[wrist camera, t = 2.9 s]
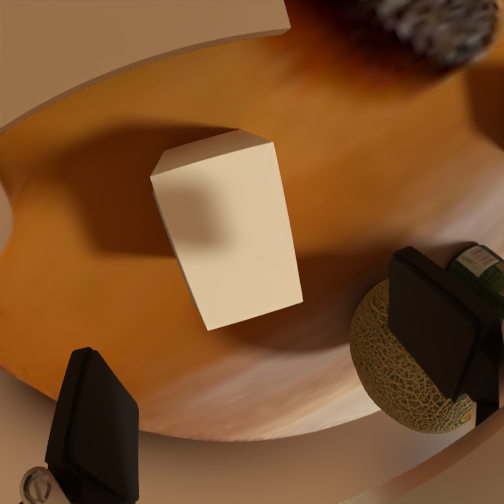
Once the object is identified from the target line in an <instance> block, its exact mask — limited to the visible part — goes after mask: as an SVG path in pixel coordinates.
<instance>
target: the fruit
mask: <svg viewBox="0 0 504 504" xmlns="http://www.w3.org/2000/svg"><path fill="white" fill-rule="evenodd" d="M388 303H389V278H388V279H385V280H383V281H381V282H380V283H378V284H377V285H375V286H374V287H373V288H372V289H371V290H370V291H369V292H368V293H367V294H366V295H365V297H364V298H363V299H362V300H361V302H360V304H359V305H358V307H357V308H356V310H355V313H354V315H353V318H352V321H351V325H350V330H349V344H350V352H351V356H352V360H353V363H354V366H355V368H356V371H357V374H358V376H359V379H360V381H361V383H362V385H363V387H364V389H365V390H366V392H367V393H368V395H369V396H370V398H371V399H372V400H373V401H374V403H375V404H376V405H377V406H378V407H380V408H381V409H382V410H383V411H384V412H385V413H386V414H387V415H389V416H390V417H392V418H393V419H395V420H396V421H397V422H398V423H400V424H402V425H404V426H406V427H408V428H410V429H412V430H415V431H418V432H422V433H428V434H441V433H446V432H450V431H453V430H455V429H457V428H459V427H461V426H462V425H463V424H465V423H466V422H468V421H469V420H470V419H471V405H472V400H471V399H470V397H469V396H468V395H467V396H466V397H465V398H463V399H462V400H460V401H459V402H457V403H456V404H454V403H453V401H452V400H451V399H447V398H445V397H444V396H443V395H442V393H441V392H440V391H439V390H438V388H437V387H436V386H435V385H434V383H433V382H432V381H431V380H430V378H429V377H428V376H427V375H426V373H425V372H424V371H423V370H422V368H421V367H420V366H419V365H418V364H417V362H416V361H415V360H414V359H413V358H412V356H411V355H410V354H409V353H408V351H407V350H406V349H405V348H404V347H403V345H402V344H401V343H400V342H399V341H398V340H397V338H396V337H395V336H394V335H393V334H392V332H391V331H390V329H389V327H388V322H387V320H388Z"/></svg>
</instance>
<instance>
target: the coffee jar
mask: <svg viewBox="0 0 504 504" xmlns="http://www.w3.org/2000/svg"><path fill="white" fill-rule="evenodd" d="M447 272H448V273H449V274H450V275H452V276H453V277H454V278H455V279H457V280H458V281H459V282H461V283H462V284H463V285H465V286H466V287H467V288H468V289H470V290H471V291H472V292H473V293H475V294H476V295H477V296H478V297H480V298H481V299H482V300H483V301H484V302H486V303H487V304H488V305H489V306H491V307H492V308H493V309H494V310H495V311H496V312H498V313H499V314H500V316H499V319H498V320H500V321H501V322H503V319H504V260H503V259H502V258H501V257H500V256H498V255H497V254H496V253H494V252H493V251H492V250H490V249H489V248H488V247H486V246H484V245H476V246H472V247H469V248H467V249H465V250H463V251H462V252H461V253H460V254H459V255H458V256H457V257H456V258H455V259H454V260H453V261H452V262H451V264H450V265H449V267H448V270H447Z"/></svg>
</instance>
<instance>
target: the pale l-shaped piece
mask: <svg viewBox="0 0 504 504" xmlns="http://www.w3.org/2000/svg"><path fill="white" fill-rule="evenodd" d="M290 28H291V26H290V22H289V19H288V15H287V11H286V8H285V4H284V1H283V0H0V134H1V133H3V132H5V131H6V130H8V129H9V128H11V127H12V126H14V125H16V124H17V123H19V122H21V121H22V120H24V119H26V118H28V117H29V116H31V115H33V114H35V113H36V112H38V111H40V110H42V109H44V108H45V107H47V106H49V105H51V104H53V103H55V102H57V101H59V100H61V99H63V98H65V97H67V96H69V95H71V94H73V93H76V92H78V91H80V90H82V89H84V88H86V87H89V86H91V85H93V84H96V83H98V82H100V81H103V80H105V79H108V78H110V77H113V76H115V75H118V74H121V73H123V72H126V71H129V70H131V69H134V68H137V67H140V66H143V65H146V64H149V63H152V62H155V61H158V60H162V59H165V58H168V57H172V56H175V55H179V54H183V53H186V52H190V51H194V50H198V49H202V48H206V47H211V46H215V45H220V44H225V43H230V42H235V41H241V40H246V39H253V38H259V37H266V36H274V35H282V34H283V33H285V32H286V31H287V30H289V29H290Z"/></svg>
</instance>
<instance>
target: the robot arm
mask: <svg viewBox="0 0 504 504" xmlns="http://www.w3.org/2000/svg"><path fill="white" fill-rule="evenodd" d="M499 316H500V314H499V313H498V312H496V311H495V310H494V309H493V308H492V307H491V306H489V305H488V304H487V303H486V302H484V301H483V300H482V299H481V298H480V297H478V296H477V295H476V294H475V293H473V292H472V291H471V290H470V289H468V288H467V287H466V286H465V285H463V284H462V283H461V282H459V281H458V280H457V279H455V278H454V277H453V276H452V275H450V274H449V273H448V272H446V271H445V270H444V269H442V268H441V267H440V266H438V265H437V264H436V263H434V262H433V261H431V260H430V259H429V258H427V257H426V256H425V255H423V254H422V253H420V252H419V251H418V250H416V249H415V248H413V247H411V246H408V247H406V248H403V249H400V250H398V251H395V252H394V254H393V257H392V258H391V259H390V271H389V303H388V320H387V322H388V327H389V329H390V331H391V332H392V334H393V335H394V336H395V337H396V338H397V340H398V341H399V342H400V343H401V344H402V345H403V347H404V348H405V349H406V350H407V351H408V353H409V354H410V355H411V356H412V358H413V359H414V360H415V361H416V362H417V364H418V365H419V366H420V367H421V368H422V370H423V371H424V372H425V373H426V375H427V376H428V377H429V378H430V380H431V381H432V382H433V383H434V385H435V386H436V387H437V388H438V390H439V391H440V392H441V393H442V395H443V396H444V397H445V398H447V399H451V400H452V401H453V403H454V404H456V403H457V402H459V401H460V400H462V399H463V398H465V397H466V396H467V395H468V396H469V397H470V399H471V400H472V405H471V421H470V431H469V432H468V433H467V434H466V435H464V436H463V437H461V438H460V439H458V440H457V441H455V442H454V443H453V444H451V445H450V446H448V447H447V448H445V449H444V450H442V451H440V452H439V453H437V454H436V455H434V456H433V457H431V458H429V459H428V460H426V461H424V462H423V463H421V464H419V465H417V466H416V467H414V468H412V469H410V470H409V471H407V472H405V473H403V474H401V475H399V476H397V477H395V478H393V479H392V480H390V481H388V482H386V483H384V484H382V485H379V486H377V487H375V488H373V489H371V490H369V491H366V492H364V493H362V494H360V495H357V496H355V497H353V498H350V499H348V500H345V501H343V502H340V503H338V504H504V319H503V322H501V321H500V320H498V319H499ZM138 427H139V409H138V405H137V403H136V402H135V400H134V399H133V398H132V397H131V395H130V394H129V393H128V391H127V390H126V389H125V388H124V386H123V385H122V384H121V382H120V381H119V380H118V378H117V377H116V376H115V374H114V373H113V372H112V370H111V369H110V368H109V366H108V365H107V363H106V362H105V361H104V359H103V358H102V356H101V355H100V353H99V352H98V351H96V350H93V349H92V348H90V347H86V348H82V349H78V350H74V351H73V352H72V354H71V357H70V360H69V363H68V366H67V370H66V373H65V376H64V380H63V383H62V387H61V390H60V394H59V398H58V402H57V406H56V410H55V414H54V418H53V422H52V427H51V431H50V436H49V440H48V445H47V451H46V456H45V462H46V463H47V464H48V469H46V468H45V467H39V466H37V467H33V468H31V469H30V470H28V471H27V472H26V473H25V474H24V476H23V478H22V480H21V483H20V495H21V499H22V502H21V503H19V504H135V502H136V501H137V500H138V499H139V483H138Z"/></svg>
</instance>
